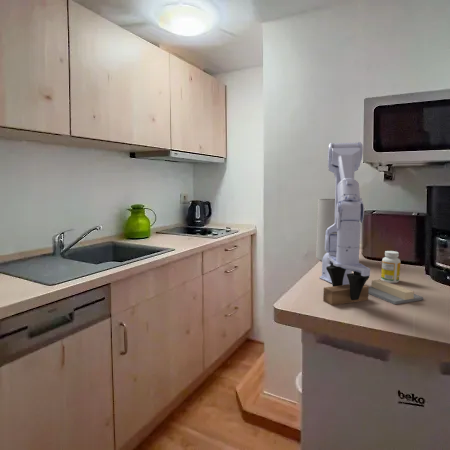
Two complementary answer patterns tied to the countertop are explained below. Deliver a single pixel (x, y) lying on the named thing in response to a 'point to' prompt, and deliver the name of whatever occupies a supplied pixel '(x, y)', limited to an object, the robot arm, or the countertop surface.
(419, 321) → the countertop surface
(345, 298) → the walnut bar
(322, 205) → the cylinder vase
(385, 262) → the supplement bottle
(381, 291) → the board
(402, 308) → the countertop surface
